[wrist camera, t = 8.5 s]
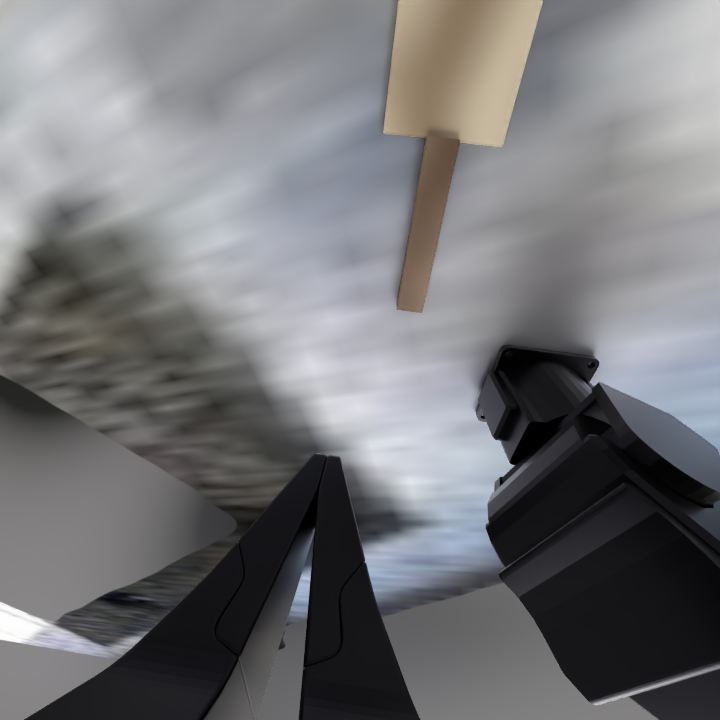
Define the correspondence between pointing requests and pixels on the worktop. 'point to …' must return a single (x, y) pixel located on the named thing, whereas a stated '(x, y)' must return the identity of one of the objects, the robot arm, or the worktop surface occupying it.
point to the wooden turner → (451, 102)
